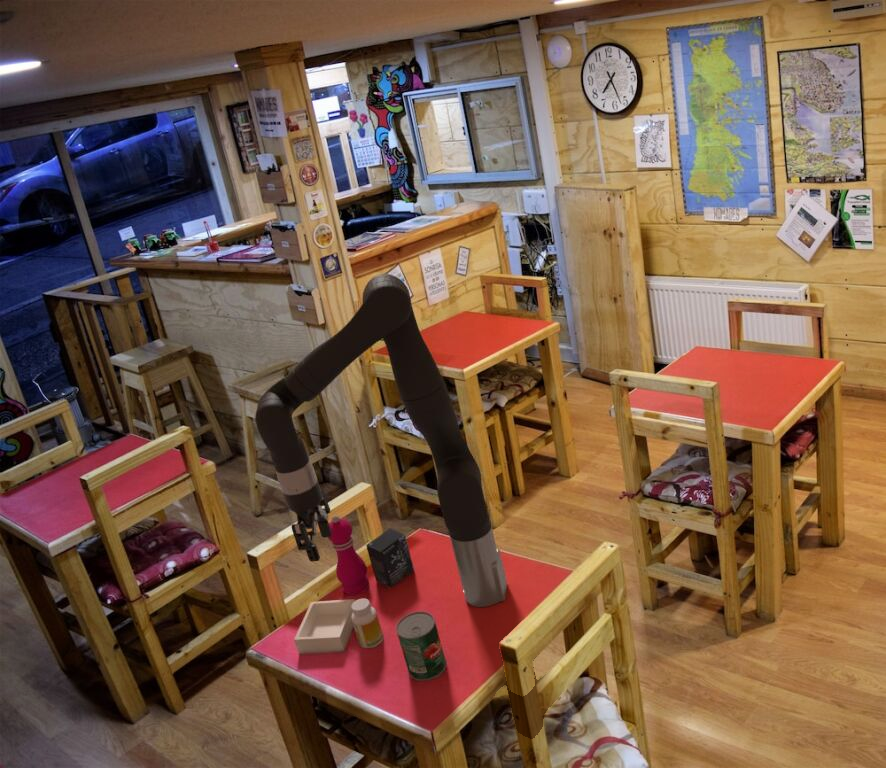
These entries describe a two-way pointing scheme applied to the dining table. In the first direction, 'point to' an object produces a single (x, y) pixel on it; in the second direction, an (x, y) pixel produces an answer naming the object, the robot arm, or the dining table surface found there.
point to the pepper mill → (347, 558)
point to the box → (390, 557)
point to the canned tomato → (421, 645)
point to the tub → (325, 627)
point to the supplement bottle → (366, 623)
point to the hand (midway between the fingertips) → (321, 548)
